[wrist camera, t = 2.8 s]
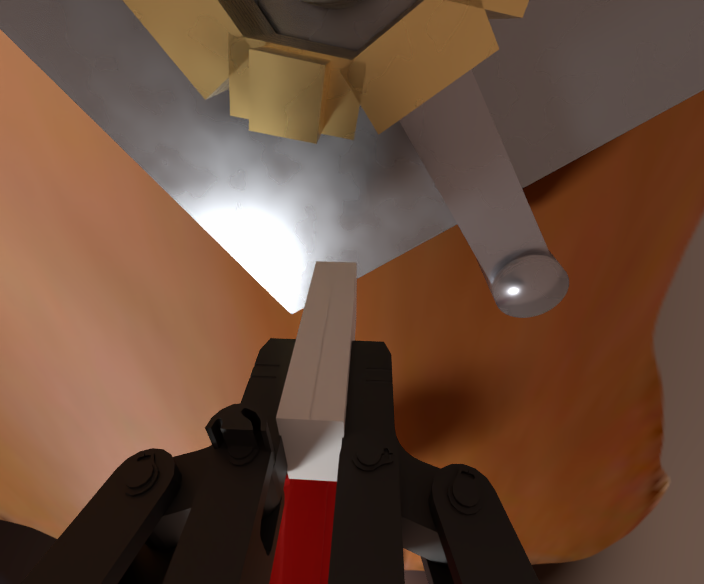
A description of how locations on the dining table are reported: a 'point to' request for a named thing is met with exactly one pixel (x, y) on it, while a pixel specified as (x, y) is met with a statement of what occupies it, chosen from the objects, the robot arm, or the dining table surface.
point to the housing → (358, 119)
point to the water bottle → (305, 533)
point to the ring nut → (381, 111)
